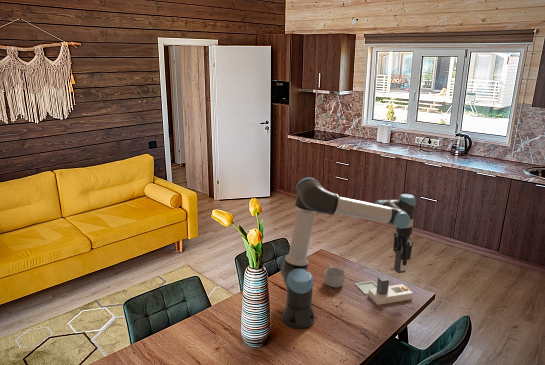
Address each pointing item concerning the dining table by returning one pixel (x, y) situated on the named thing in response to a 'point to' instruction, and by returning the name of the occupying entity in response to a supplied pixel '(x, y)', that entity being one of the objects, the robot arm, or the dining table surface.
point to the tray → (366, 286)
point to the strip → (389, 292)
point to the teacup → (334, 276)
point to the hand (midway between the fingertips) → (400, 268)
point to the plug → (398, 261)
